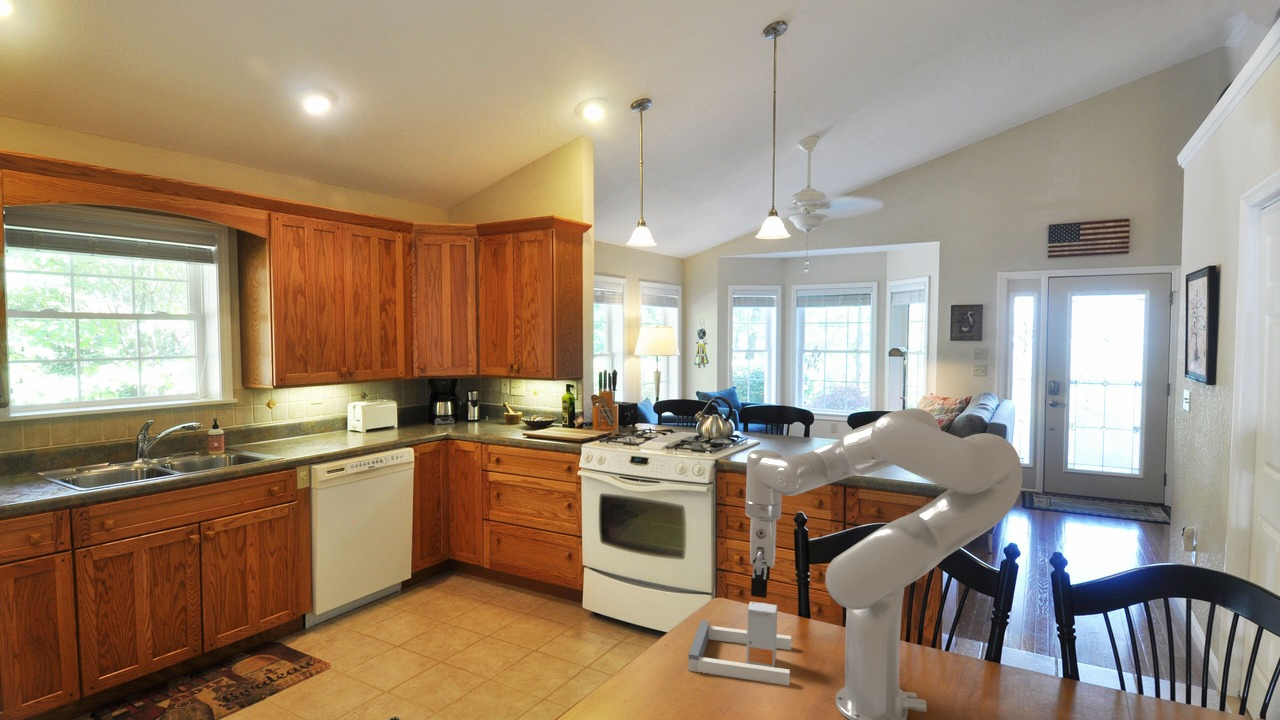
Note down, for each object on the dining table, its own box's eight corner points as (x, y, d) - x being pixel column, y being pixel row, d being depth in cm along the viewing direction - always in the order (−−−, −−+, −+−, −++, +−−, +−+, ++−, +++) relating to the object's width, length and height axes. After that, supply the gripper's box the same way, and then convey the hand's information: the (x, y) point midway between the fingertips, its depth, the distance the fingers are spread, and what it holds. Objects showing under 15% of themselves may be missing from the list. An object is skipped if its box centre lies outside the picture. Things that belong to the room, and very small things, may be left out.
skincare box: (746, 664, 132) (746, 608, 132) (748, 654, 137) (749, 600, 136) (775, 668, 131) (776, 612, 130) (776, 658, 135) (777, 604, 134)
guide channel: (791, 646, 140) (791, 631, 140) (789, 685, 124) (789, 668, 124) (700, 634, 145) (701, 620, 145) (688, 670, 130) (688, 654, 129)
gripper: (779, 522, 123) (776, 607, 124) (782, 499, 140) (779, 573, 141) (741, 518, 125) (738, 601, 126) (749, 496, 142) (746, 569, 143)
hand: (760, 587), depth 133 cm, fingers open, 9 cm apart
